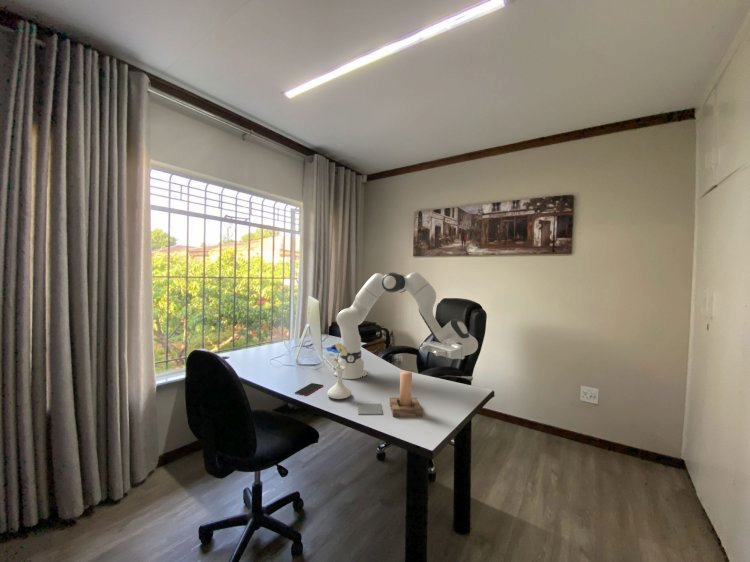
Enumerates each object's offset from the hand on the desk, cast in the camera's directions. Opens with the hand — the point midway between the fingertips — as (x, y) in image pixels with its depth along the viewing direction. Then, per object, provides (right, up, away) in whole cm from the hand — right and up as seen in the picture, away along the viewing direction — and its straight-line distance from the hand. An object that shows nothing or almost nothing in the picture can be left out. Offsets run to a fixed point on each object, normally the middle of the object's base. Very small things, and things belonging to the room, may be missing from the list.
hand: (428, 351), depth 134 cm
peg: (-11, -24, -6) cm, 27 cm away
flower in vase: (-41, -23, +8) cm, 48 cm away
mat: (-26, -23, -6) cm, 35 cm away
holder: (-11, -24, -6) cm, 27 cm away
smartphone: (-56, -23, +15) cm, 63 cm away
